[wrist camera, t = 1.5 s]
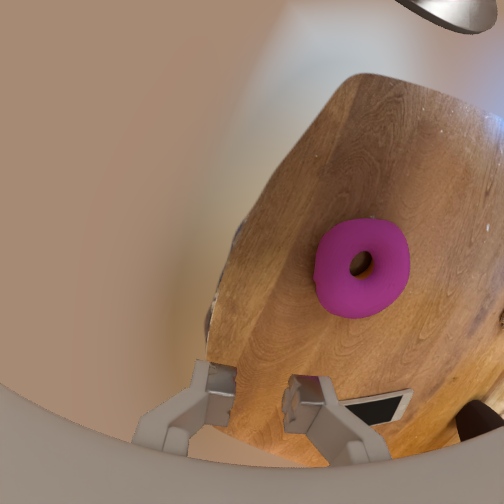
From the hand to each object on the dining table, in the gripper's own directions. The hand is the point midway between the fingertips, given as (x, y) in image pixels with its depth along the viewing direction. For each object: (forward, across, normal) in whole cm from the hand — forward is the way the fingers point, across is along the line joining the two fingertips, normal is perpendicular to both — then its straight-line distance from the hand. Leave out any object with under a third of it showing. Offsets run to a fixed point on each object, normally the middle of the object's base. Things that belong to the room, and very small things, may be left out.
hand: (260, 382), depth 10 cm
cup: (+19, -54, +27) cm, 63 cm away
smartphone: (+19, -22, +23) cm, 37 cm away
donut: (+19, -11, 0) cm, 22 cm away
